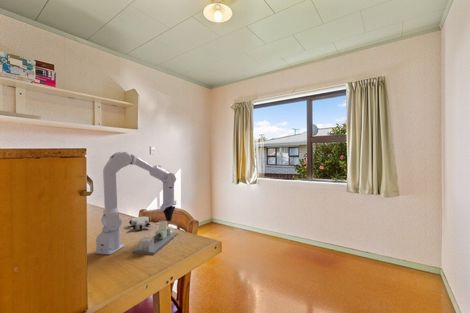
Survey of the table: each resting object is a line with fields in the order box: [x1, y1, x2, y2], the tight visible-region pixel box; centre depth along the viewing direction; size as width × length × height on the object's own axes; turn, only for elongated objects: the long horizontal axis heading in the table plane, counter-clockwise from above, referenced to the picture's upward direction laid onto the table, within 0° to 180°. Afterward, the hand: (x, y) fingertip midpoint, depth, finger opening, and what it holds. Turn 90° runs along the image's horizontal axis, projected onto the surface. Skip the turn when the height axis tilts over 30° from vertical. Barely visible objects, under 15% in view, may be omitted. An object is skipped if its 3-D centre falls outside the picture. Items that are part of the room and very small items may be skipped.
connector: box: [138, 236, 154, 251], centre depth 99 cm, size 5×5×4 cm
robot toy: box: [128, 216, 152, 231], centre depth 131 cm, size 12×4×15 cm
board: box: [132, 225, 179, 255], centre depth 108 cm, size 24×10×5 cm, turn 170°
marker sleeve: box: [154, 220, 168, 239], centre depth 111 cm, size 5×4×7 cm
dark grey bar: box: [152, 228, 168, 241], centre depth 107 cm, size 20×1×1 cm, turn 170°
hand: (168, 220), depth 119 cm, fingers closed
